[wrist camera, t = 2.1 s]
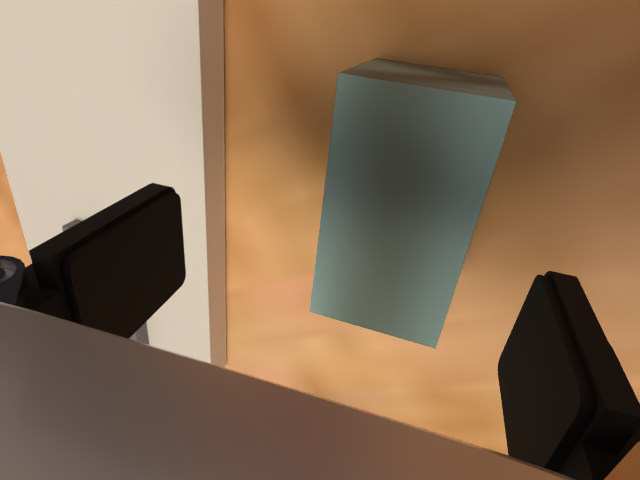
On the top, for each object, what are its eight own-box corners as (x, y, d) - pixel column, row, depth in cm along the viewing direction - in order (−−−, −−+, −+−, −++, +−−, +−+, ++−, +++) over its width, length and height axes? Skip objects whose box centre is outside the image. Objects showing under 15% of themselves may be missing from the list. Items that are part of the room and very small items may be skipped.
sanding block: (502, 76, 16) (516, 101, 11) (443, 268, 21) (435, 348, 16) (376, 57, 17) (338, 73, 12) (347, 244, 22) (310, 311, 17)
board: (223, -59, 17) (195, -68, 15) (226, 363, 29) (211, 385, 27) (-23, -82, 20) (-69, -91, 18) (72, 312, 32) (50, 328, 30)
